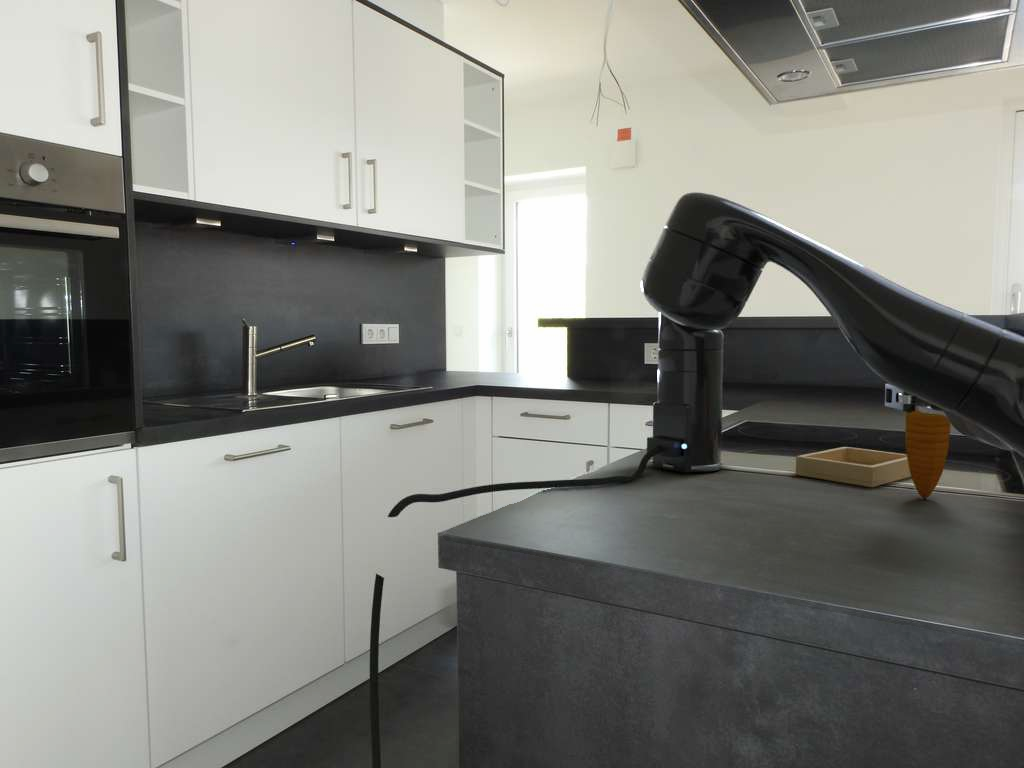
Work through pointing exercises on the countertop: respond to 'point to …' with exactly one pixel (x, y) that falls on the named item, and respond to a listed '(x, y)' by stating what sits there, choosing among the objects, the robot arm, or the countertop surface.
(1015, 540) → the countertop surface
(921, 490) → the carrot
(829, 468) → the tray
